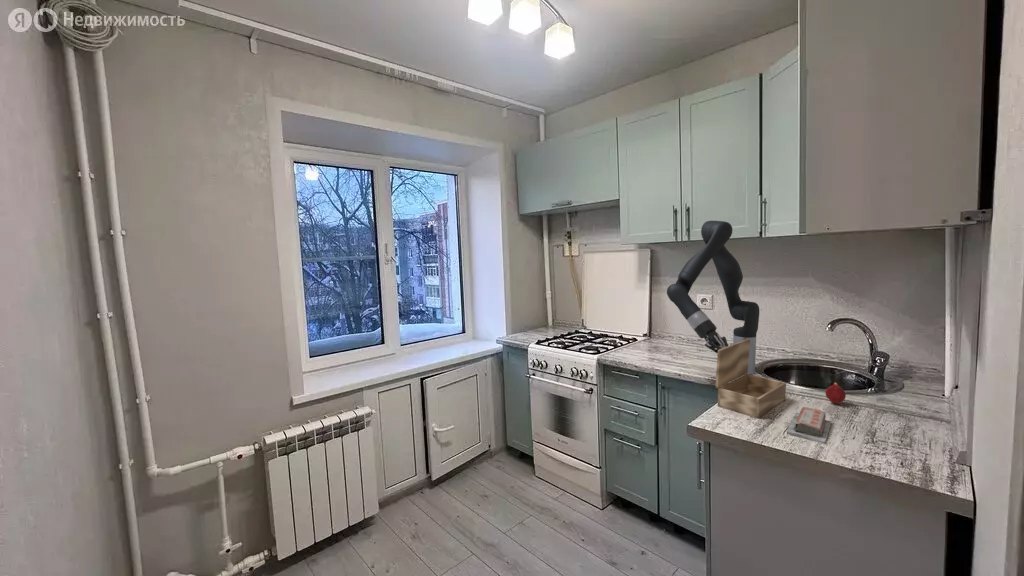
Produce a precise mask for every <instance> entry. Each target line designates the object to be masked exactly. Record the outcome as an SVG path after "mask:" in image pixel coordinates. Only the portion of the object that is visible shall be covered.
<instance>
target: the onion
mask: <svg viewBox="0 0 1024 576" xmlns="http://www.w3.org/2000/svg"><path fill="white" fill-rule="evenodd" d="M825 397H826V398H827V399H828V400H829V402H831V403H832V404H834V405H837V404H839V403H842V402H844V400H846V397H847V395H846V392H845V390H844V389H843V387H841V386H840V385H839V384H838V383H837V382H833V384H832V385H830V386H828V387H827V388H826V390H825Z"/></svg>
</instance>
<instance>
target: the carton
mask: <svg viewBox="0 0 1024 576" xmlns="http://www.w3.org/2000/svg"><path fill="white" fill-rule="evenodd" d="M786 395H787V382H784V381H780V380H779V381H778V380H774V379H772V378H766V377H761V376H756V375H753V374H745V375H743V376H741V377H739V378H737V379H735V380H733V381H731V382H729V383H727V384H725V385H723V386H721V387H719V388H717V407H718V408H722V409H724V410H725V409H726V410H729V411H732V412H734V413H739V414H741V415H745V416H747V417H752V418H755V419H760V418H761V417H763V416H764V415H766V414H767V413H769V412H770V411H773V409H775V408H777V407H778V406H780V405H781V404H783V403H784V402H786Z"/></svg>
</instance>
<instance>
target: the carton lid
mask: <svg viewBox="0 0 1024 576" xmlns="http://www.w3.org/2000/svg"><path fill="white" fill-rule="evenodd" d="M749 347H750V339H746V340H743V341H741V342H738V343H735V344H733V343H732V344H730V345H728V346H727V347H725V348H722V349H719V350H718V353H717V358H716V375H715V388H716V389H718V388H720V387H722V386H724V385H726V384H728V383H730V382H732V381H734V380H736V379H738V378H740V377H742V376H744V375H746V374H747V373H748V360H749Z"/></svg>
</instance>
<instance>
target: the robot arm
mask: <svg viewBox="0 0 1024 576" xmlns="http://www.w3.org/2000/svg"><path fill="white" fill-rule="evenodd" d="M700 234H701V238H702V240H703V242H704V244H705V245H704V247H702V249H700V250H699V251H698V252H697V253H695V255H693V256H692V257H691V258H689V260H687V261H686V263H685V264H684V266H683V268H682V269H680V272H679V274H678V277H677V280H676V282H675V283H672V284H670V285H668V287H667V289H666V295H667V297H668V299H669V301H670V302H671V303H673V304H674V305H675V306H676V307H677V309H678V310H679V312H680V314H681V315H682V316H683V317H684V319H685V320H686V321H687V323H688V324H689V326H690V327H691V328H692V330H693V331H694V332H695V333H696V334H697V335H698V337H699V338H700V339H704V341H705V342H706V343H705V344H704V346H705V347H706V348H708V349H709V350H711V351H713V352H714V353H715V354H718V350H719V349H722V348H725V347H727V346H729V343H728V341H727V338H726V336H720V334H719V333H718V332H717V331H716V330H717V325H716V324H714V322H712V320H711V318H710V317H708V315H707V314H706V313H705V312H704V311H703V310H702V309H701V307H699V306H698V304H697V303H696V302H695V301H693V299H692V297H691V296H690V295H689V292H690V291H691V289H692V286H693V284H695V282H696V280H697V279H698V277H699V276H700V274H701V273H702V271H703V270H704V269H705V267H706V266H707V264H708V263H709V262H710V261H711V260H712V261H713V264H714V266H715V270H716V272H717V276H718V278H719V280H720V283H721V286H722V288H723V292H724V294H725V298H726V299H725V300H726V303H727V306H728V311H729V314H730V317H731V318H732V319H734V320H736V321H742V322H743V326H739V327H735V328H733V331H732V333H733V335H732V336H733V338H732V344H735V343H738V342H741V341H743V340H746V339H750V347H749V360H748V373H747V374H748V375H753V374H755V373H756V359H757V358H756V356H757V355H756V354H757V333H758V330H759V321H760V307H759V304H758V303H757V302H756V301H749V300H742V299H741V296H740V292H739V290H740V287H741V284H742V283H743V278H744V275H743V271H742V268H741V266H740V263H739V262H738V260H737V259H736V258H735V256H734V255H733V254H732V253H731V252H730V251H729V250H728V248H727V247H726V246H725V244H726V243H727V242H728V241H729V240H730V238H731V236H732V235H733V226H732V225H731V223H729V222H728V221H725V220H724V221H723V220H708V221H707V220H706V221H705V222H703V224H702V226H701V229H700Z"/></svg>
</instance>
